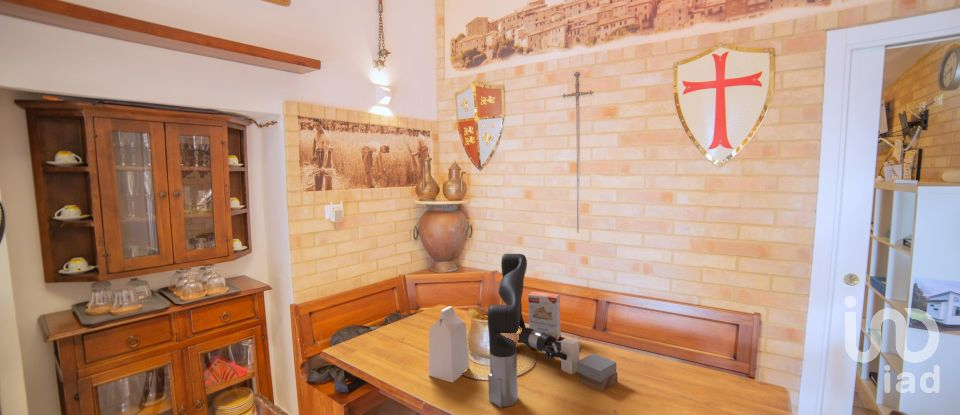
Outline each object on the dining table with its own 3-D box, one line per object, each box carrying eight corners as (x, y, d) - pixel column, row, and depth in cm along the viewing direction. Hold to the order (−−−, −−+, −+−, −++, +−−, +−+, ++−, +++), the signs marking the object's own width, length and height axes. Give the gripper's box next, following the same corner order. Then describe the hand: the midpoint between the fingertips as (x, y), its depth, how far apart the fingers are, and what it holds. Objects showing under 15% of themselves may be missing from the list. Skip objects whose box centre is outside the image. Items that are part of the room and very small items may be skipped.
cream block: (571, 374, 151) (571, 344, 150) (561, 369, 155) (560, 340, 154) (579, 370, 154) (579, 340, 153) (569, 365, 158) (568, 336, 157)
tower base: (601, 393, 138) (601, 382, 138) (578, 382, 146) (578, 372, 145) (617, 383, 144) (617, 372, 144) (594, 373, 152) (593, 363, 152)
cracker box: (528, 336, 187) (527, 294, 186) (533, 332, 192) (532, 290, 191) (557, 341, 181) (556, 297, 179) (560, 336, 186) (560, 293, 184)
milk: (446, 362, 164) (443, 302, 162) (469, 368, 158) (467, 306, 156) (428, 375, 154) (425, 311, 152) (452, 382, 148) (449, 315, 146)
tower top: (600, 382, 138) (600, 371, 138) (577, 371, 146) (577, 361, 145) (616, 372, 144) (616, 362, 144) (593, 363, 152) (593, 353, 152)
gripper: (530, 337, 160) (561, 350, 148) (552, 328, 169) (584, 339, 157) (530, 355, 161) (562, 369, 148) (552, 345, 170) (584, 357, 157)
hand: (573, 354), depth 153 cm, fingers open, 8 cm apart
